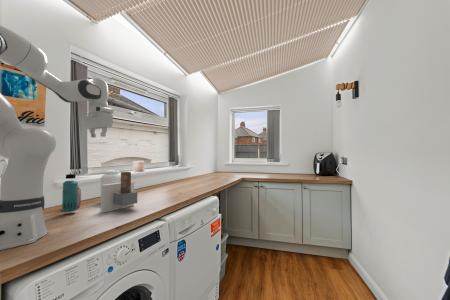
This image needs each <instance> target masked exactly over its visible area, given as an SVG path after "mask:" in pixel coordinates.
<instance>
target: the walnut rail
mask: <svg viewBox="0 0 450 300" xmlns="http://www.w3.org/2000/svg"><path fill="white" fill-rule="evenodd" d="M120 174H121V193H123V194H125V193H131V182H132V172H131V171H120Z"/></svg>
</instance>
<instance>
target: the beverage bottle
mask: <svg viewBox="0 0 450 300" xmlns="http://www.w3.org/2000/svg"><path fill="white" fill-rule="evenodd" d="M65 179H69V180H65V181H63V182H62V202H61V203H62V205H61V211H62V213H70V212H71V213H72V212H76V211H77V210H78V209H79V208H78V207H77V197H78V196H77V192H78V186H79V182H78V181H77V180H72V179H76V174H75V173H68V174H65Z"/></svg>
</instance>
